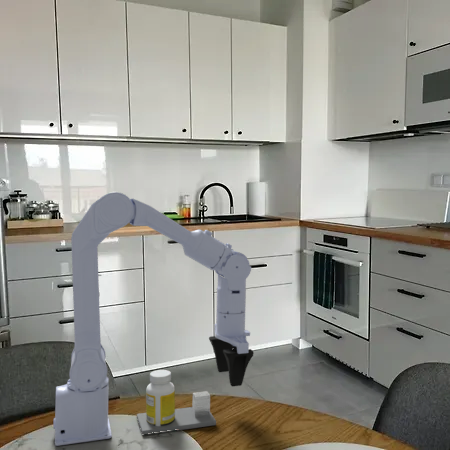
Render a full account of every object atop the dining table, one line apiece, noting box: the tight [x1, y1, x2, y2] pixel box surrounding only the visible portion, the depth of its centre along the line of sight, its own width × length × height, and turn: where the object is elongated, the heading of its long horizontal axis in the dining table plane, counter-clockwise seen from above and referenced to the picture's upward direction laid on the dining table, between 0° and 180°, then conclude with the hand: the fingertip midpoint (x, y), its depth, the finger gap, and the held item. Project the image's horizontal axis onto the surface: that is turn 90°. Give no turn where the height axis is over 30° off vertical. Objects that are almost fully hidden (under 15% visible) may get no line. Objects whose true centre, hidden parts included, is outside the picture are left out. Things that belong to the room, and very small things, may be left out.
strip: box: [136, 390, 217, 435], centre depth 87 cm, size 14×7×5 cm, turn 109°
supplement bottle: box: [145, 369, 176, 426], centre depth 86 cm, size 5×5×10 cm
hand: (229, 378), depth 90 cm, fingers open, 7 cm apart
